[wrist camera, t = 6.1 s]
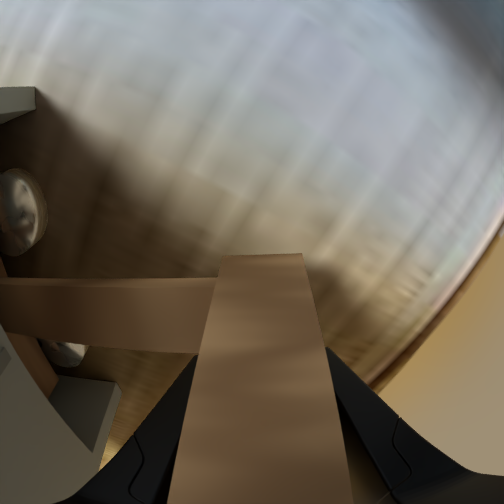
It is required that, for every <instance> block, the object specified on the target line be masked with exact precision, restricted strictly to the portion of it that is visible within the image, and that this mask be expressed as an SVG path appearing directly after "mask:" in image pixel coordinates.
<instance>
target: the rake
mask: <svg viewBox="0 0 504 504" xmlns="http://www.w3.org/2000/svg"><path fill="white" fill-rule="evenodd" d="M0 324H1V326H2V328H3V330H4V332H5V333H6V335H7V337H8V339H9V341H10V342H11V344H12V346H13V348H14V349H15V351H16V353H17V355H18V356H19V358H20V360H21V361H22V363H23V364H24V366H25V368H26V369H27V371H28V372H29V374H30V375H31V377H32V378H33V380H34V381H35V383H36V384H37V386H38V387H39V389H40V390H41V391H42V393H43V394H44V396H45V397H46V398H47V400H48V398H49V396H50V394H51V393H52V391H53V389H54V387H55V386H56V384H57V382H58V380H59V379H58V377H57V375H56V374H55V372H54V370H53V369H52V367H51V365H50V364H49V362H48V360H47V358H46V357H45V355H44V353H43V351H42V350H41V348H40V346H39V344H38V342H37V340H36V338H41V339H47V340H53V341H60V342H66V343H73V344H81V345H89V346H97V347H106V348H116V349H126V350H138V351H152V352H169V353H192V354H199V355H198V359H197V364H196V368H195V372H194V377H193V381H192V386H191V390H190V395H189V399H188V404H187V408H186V413H185V417H184V422H183V427H182V432H181V436H180V441H179V446H178V451H177V456H176V460H175V465H174V470H173V476H172V481H171V486H170V491H169V496H168V501H167V504H354V502H353V496H352V489H351V482H350V476H349V470H348V463H347V457H346V452H345V446H344V440H343V435H342V429H341V424H340V418H339V413H338V408H337V403H336V398H335V393H334V388H333V383H332V378H331V374H330V369H329V364H328V360H327V355H326V350H325V346H324V341H323V337H322V333H321V328H320V324H319V320H318V316H317V311H316V307H315V303H314V299H313V295H312V291H311V287H310V283H309V279H308V275H307V271H306V267H305V263H304V259H303V255H302V253H298V254H268V255H238V256H223V257H222V261H221V265H220V269H219V273H218V277H215V278H152V279H65V278H8V276H7V274H6V271H5V268H4V266H3V263H2V260H1V257H0Z"/></svg>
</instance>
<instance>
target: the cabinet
mask: <svg viewBox="0 0 504 504" xmlns="http://www.w3.org/2000/svg"><path fill="white" fill-rule="evenodd" d="M35 109H36V105H35V87H0V124H2V123H5V122H7V121H9V120H11V119H13V118H16V117H18V116H20V115H23V114H25V113H28V112H30V111H33V110H35ZM56 375H57V374H56ZM57 377H58V379H59V380H58V382H57V384H56V386H55V387H54V389H53V391H52V393H51V394H50V396H49V398H48V400H47V398H46V397H45V396H44V394H43V393H42V391H41V390H40V389H39V387H38V386H37V384H36V383H35V381H34V380H33V378H32V377H31V375H30V374H29V372H28V371H27V369H26V368H25V366H24V364H23V363H22V361H21V360H20V358H19V356H18V355H17V353H16V351H15V349H14V348H13V346H12V344H11V342H10V341H9V339H8V337H7V335H6V333H5V332H4V330H3V328H2V326H1V324H0V504H52V503H56V502H59V501H62V500H64V499H66V498H68V497H70V496H72V495H73V494H75V493H76V492H77V491H78V490H79V489H80V488H82V487H83V486H84V485H85V484H86V483H87V482H88V481H89V480H90V479H91V478H92V477H93V476H95V475H96V474H97V473H98V471H99V467H100V464H101V460H102V456H103V453H104V449H105V446H106V443H107V439H108V436H109V433H110V429H111V426H112V423H113V420H114V416H115V413H116V410H117V407H118V404H119V401H120V398H121V395H122V392H121V390H120V388H119V386H118V384H117V382H107V381H98V380H90V379H83V378H75V377H69V376H63V375H57Z"/></svg>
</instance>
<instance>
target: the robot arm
mask: <svg viewBox="0 0 504 504" xmlns="http://www.w3.org/2000/svg"><path fill="white" fill-rule="evenodd" d="M325 350H326V355H327V360H328V364H329V369H330V374H331V378H332V383H333V388H334V393H335V398H336V403H337V408H338V413H339V418H340V424H341V429H342V435H343V440H344V446H345V452H346V457H347V463H348V470H349V476H350V482H351V489H352V496H353V502H354V504H504V476H497V475H489V474H481V473H477V472H473V471H471V470H468V469H466V468H464V467H463V466H461V465H460V464H458V463H457V462H455V461H454V460H453V459H451V458H450V457H448V456H447V455H445V454H444V453H443V452H441V451H440V450H439V449H437V448H436V447H434V446H433V445H432V444H431V443H429V442H428V441H427V440H425V439H424V438H423V437H421V436H420V435H419V434H418V433H417V432H416V431H415V430H414V429H412V428H411V427H410V426H409V425H408V424H407V423H406V422H405V421H404V420H403V419H402V418H401V417H400V418H399V416H398V415H397V414H396V413H395V412H394V411H393V410H392V409H391V408H390V407H389V406H388V405H387V404H386V403H385V402H384V401H383V400H382V399H381V398H380V397H379V396H378V395H377V394H376V393H375V392H374V391H373V390H372V389H371V388H370V387H369V386H368V385H367V384H366V383H365V382H364V381H362V380H361V379H360V378H359V377H358V376H357V375H356V374H355V373H354V372H353V371H352V370H351V369H350V368H349V367H348V366H347V365H346V364H345V363H344V362H343V361H342V360H341V359H340V358H339V357H338V356H337V355H336V354H335V353H334V352H333V351H332V350H331V349H330V348H329V347H325ZM197 359H198V355H196V356H194V357H193V358H192V359H191V361H190V362H189V363H188V365H187V366H186V367H185V369H184V370H183V371H182V372H181V374H180V375H179V376H178V378H177V379H176V380H175V381H174V383H173V384H172V385H171V387H170V388H169V389H168V390H167V392H166V393H165V394H164V395H163V397H162V398H161V399H160V401H159V402H158V403H157V404H156V406H155V407H154V408H153V409H152V411H151V412H150V413H149V415H148V416H147V417H146V418H145V420H144V421H143V422H142V423H141V425H140V426H139V427H138V428H137V430H136V431H135V432H134V435H132V436H131V437H130V438H129V440H128V441H127V442H126V443H125V444H124V446H123V447H122V448H121V449H120V450H119V451H118V453H117V454H116V455H115V456H114V457H113V458H112V459H111V460H110V461H109V462H108V463H107V464H106V465H105V466H104V467H103V468H102V469H101V470H100V471H99V472H98V473H97V474H96V475H95V476H93V477H92V478H91V479H90V480H89V481H88V482H87V483H86V484H85V485H84V486H83V487H82V488H80V489H79V490H78V491H77V492H76V493H75V494H73V495H72V496H70V497H68V498H66V499H64V500H62V501H59V502H56V503H52V504H167V501H168V496H169V491H170V486H171V481H172V476H173V470H174V465H175V460H176V456H177V451H178V446H179V441H180V436H181V432H182V427H183V422H184V417H185V413H186V408H187V404H188V399H189V395H190V390H191V386H192V381H193V377H194V372H195V368H196V364H197Z"/></svg>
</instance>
